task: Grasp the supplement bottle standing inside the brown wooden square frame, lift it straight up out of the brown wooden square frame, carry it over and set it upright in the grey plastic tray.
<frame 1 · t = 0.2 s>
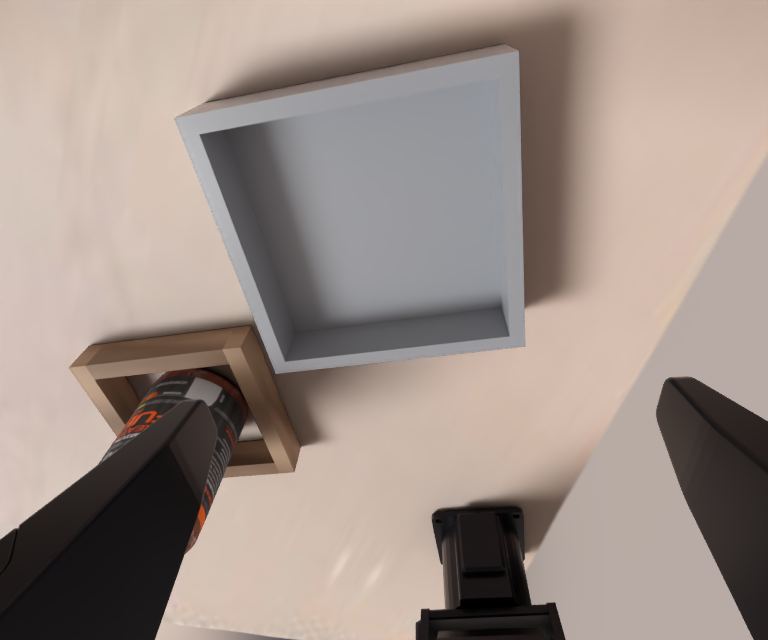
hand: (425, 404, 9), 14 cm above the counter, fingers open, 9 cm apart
tray: (376, 219, 23), on the counter
supplement bottle: (203, 397, 30), resting in brown wooden square frame
brown wooden square frame: (202, 400, 30), on the counter
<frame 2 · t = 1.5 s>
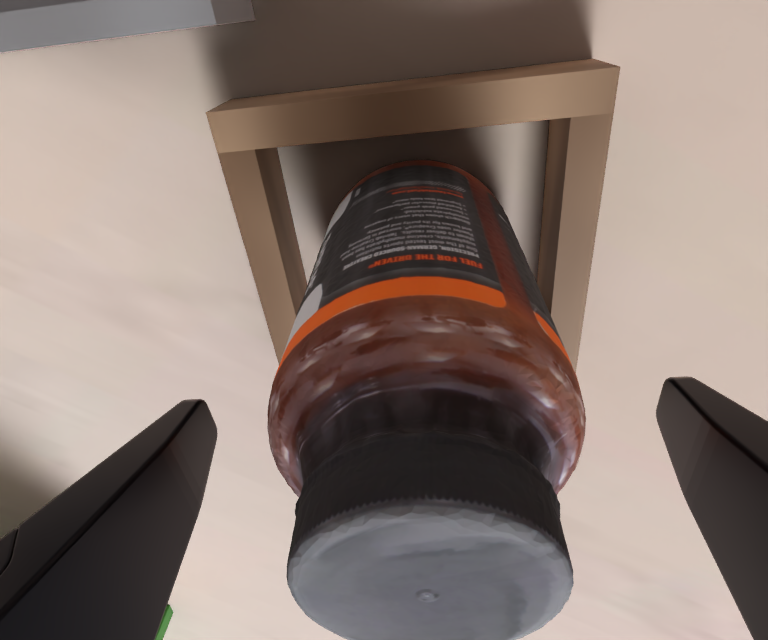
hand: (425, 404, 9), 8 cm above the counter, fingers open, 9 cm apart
supplement bottle: (417, 242, 16), resting in brown wooden square frame
brown wooden square frame: (417, 245, 16), on the counter
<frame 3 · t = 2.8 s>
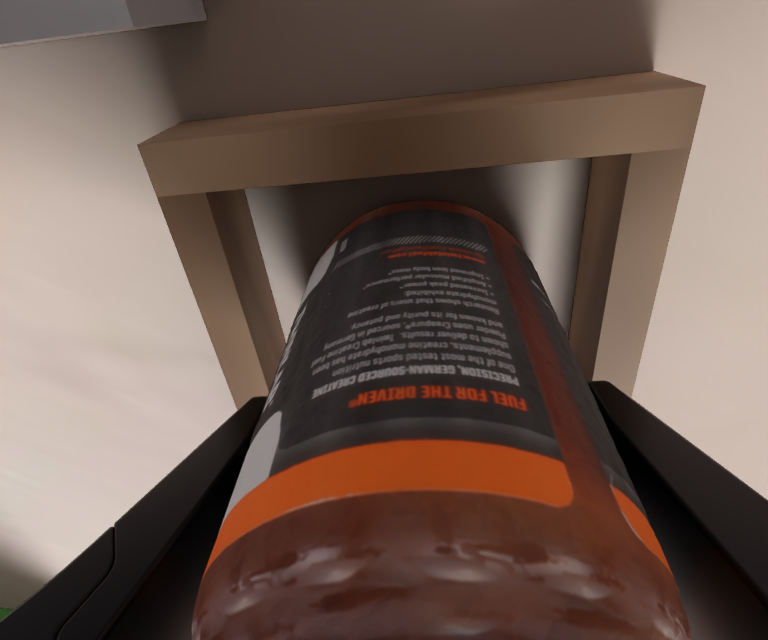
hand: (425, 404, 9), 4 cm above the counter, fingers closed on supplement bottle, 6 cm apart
supplement bottle: (420, 295, 13), resting in brown wooden square frame, touching gripper
brown wooden square frame: (421, 300, 13), on the counter
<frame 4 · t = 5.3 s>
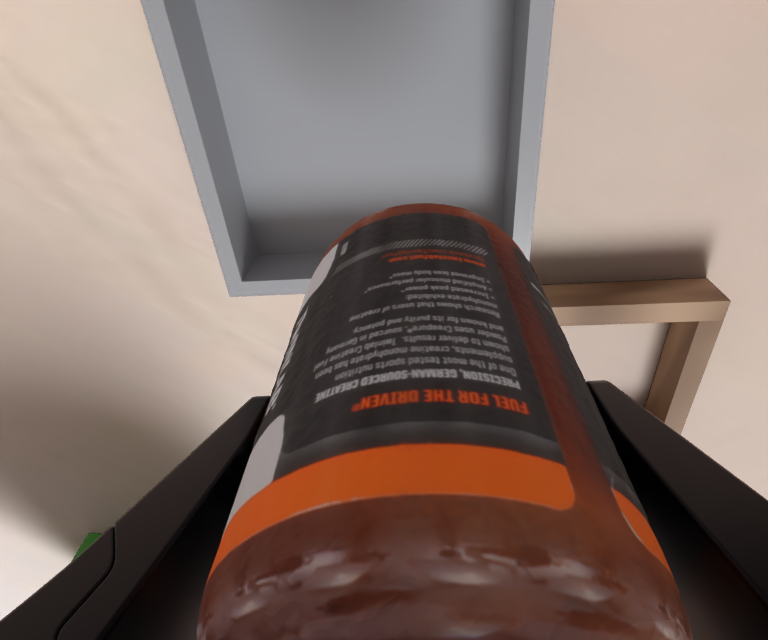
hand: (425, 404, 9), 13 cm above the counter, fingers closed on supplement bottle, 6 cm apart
tray: (365, 117, 19), on the counter
supplement bottle: (420, 298, 13), point 9 cm above the counter, touching gripper
brown wooden square frame: (578, 365, 25), on the counter
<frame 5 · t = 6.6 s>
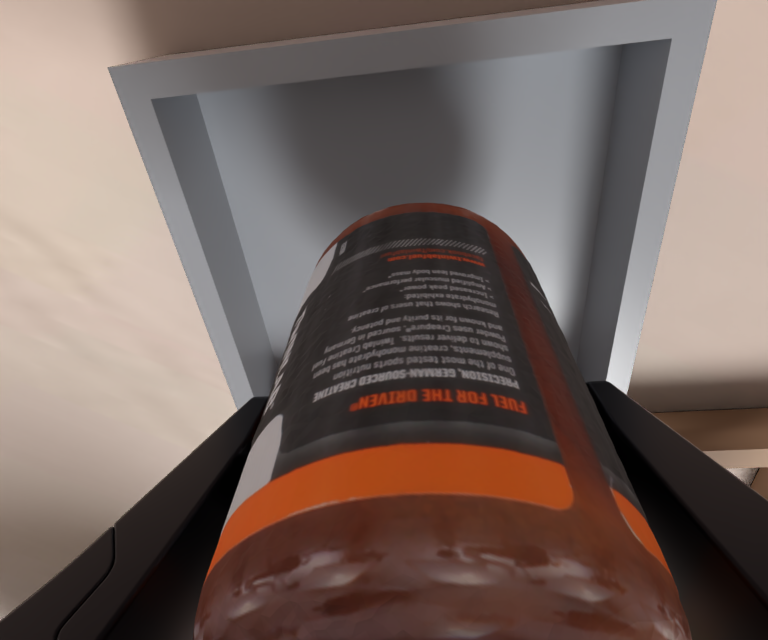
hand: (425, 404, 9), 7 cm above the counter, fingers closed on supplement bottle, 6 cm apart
tray: (415, 247, 16), on the counter
supplement bottle: (420, 297, 13), point 3 cm above the counter, touching gripper
brown wooden square frame: (655, 491, 22), on the counter
when the fingers open (6 cm above the counter, at t = 7.7 s): supplement bottle drops 1 cm, resting on tray.
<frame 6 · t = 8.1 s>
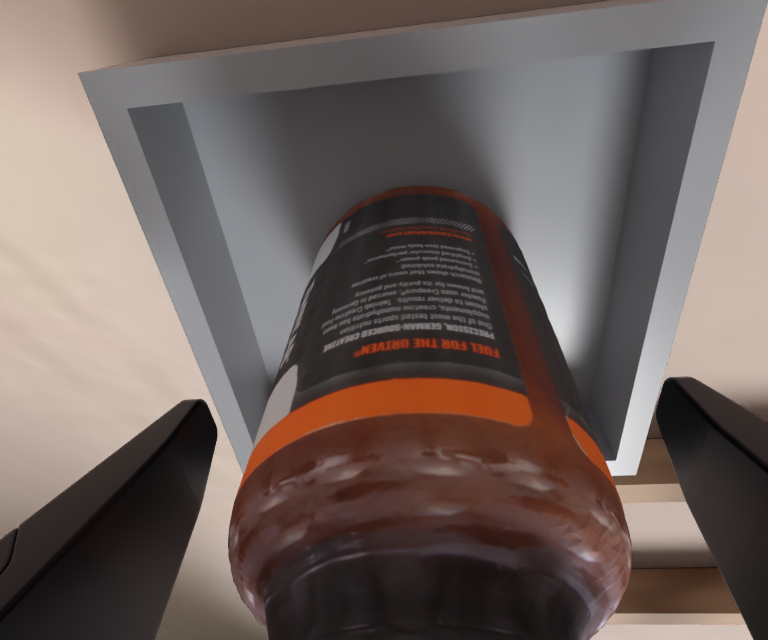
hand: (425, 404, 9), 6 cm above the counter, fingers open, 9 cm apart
tray: (420, 265, 14), on the counter
supplement bottle: (417, 274, 14), resting on tray
brown wooden square frame: (672, 518, 21), on the counter
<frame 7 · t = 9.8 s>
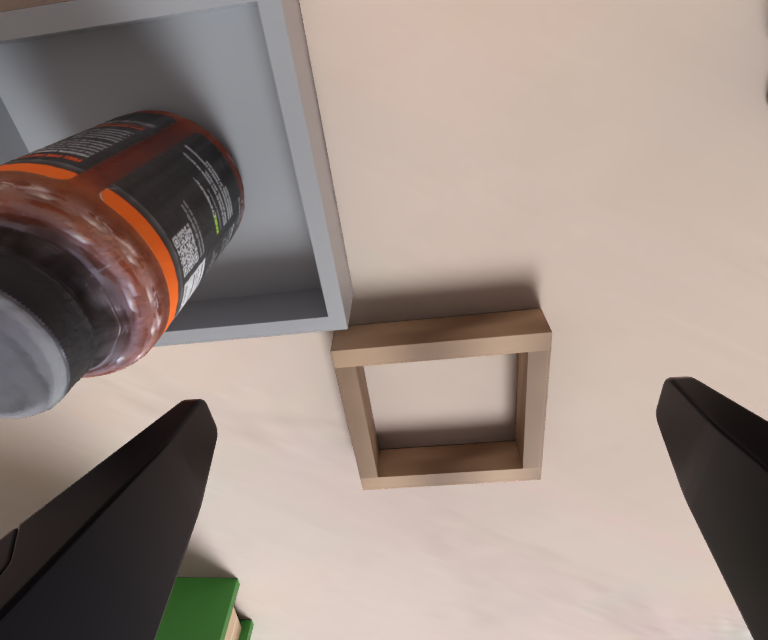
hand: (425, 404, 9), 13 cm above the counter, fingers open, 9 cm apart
tray: (182, 179, 20), on the counter
supplement bottle: (178, 184, 20), resting on tray
brown wooden square frame: (442, 394, 26), on the counter
hardback book: (140, 598, 39), on the counter
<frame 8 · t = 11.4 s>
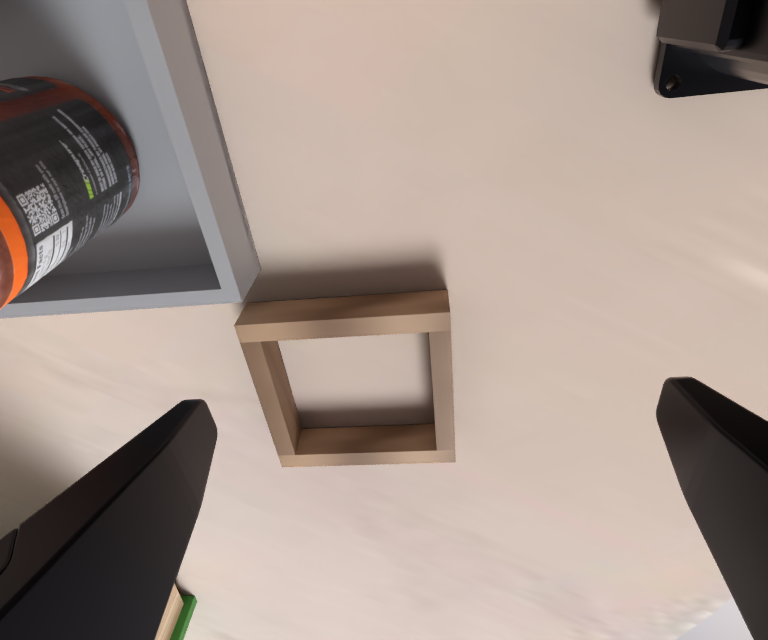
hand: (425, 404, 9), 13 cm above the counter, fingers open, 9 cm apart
tray: (81, 148, 20), on the counter
supplement bottle: (76, 152, 20), resting on tray
brown wooden square frame: (358, 374, 26), on the counter
hardback book: (84, 570, 40), on the counter
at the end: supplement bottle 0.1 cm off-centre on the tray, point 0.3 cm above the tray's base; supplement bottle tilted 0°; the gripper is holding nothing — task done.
